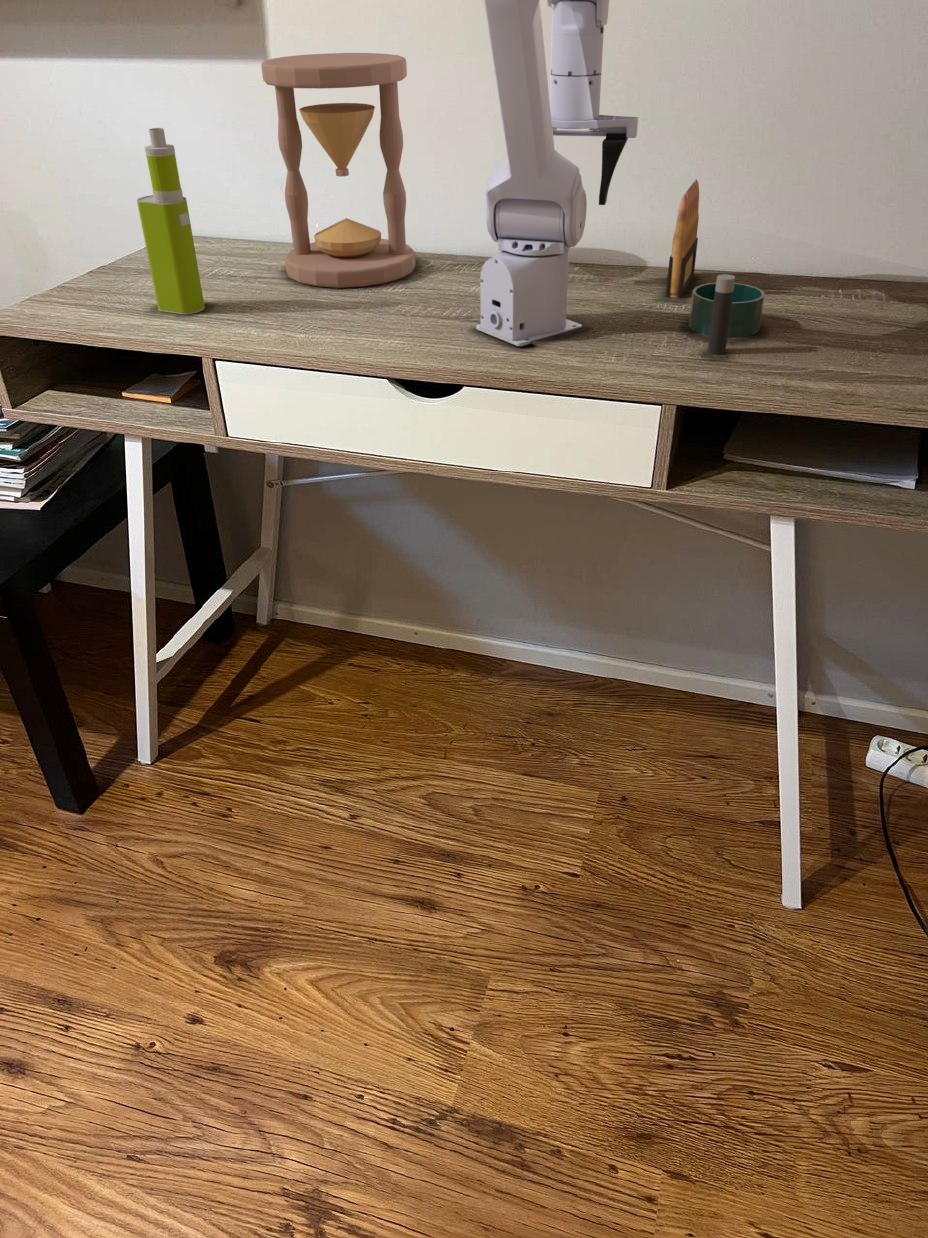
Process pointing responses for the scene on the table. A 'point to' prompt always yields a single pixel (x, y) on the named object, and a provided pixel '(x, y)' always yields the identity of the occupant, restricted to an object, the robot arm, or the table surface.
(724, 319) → the marker
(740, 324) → the pen cup
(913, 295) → the table surface
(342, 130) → the hourglass
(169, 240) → the vape
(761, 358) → the table surface
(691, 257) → the ammunition clip
